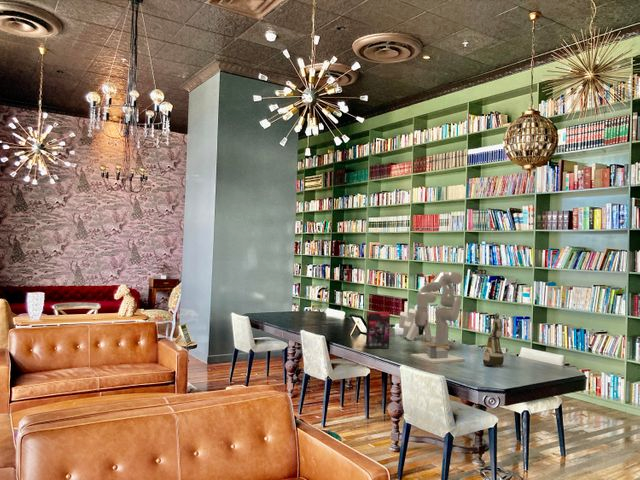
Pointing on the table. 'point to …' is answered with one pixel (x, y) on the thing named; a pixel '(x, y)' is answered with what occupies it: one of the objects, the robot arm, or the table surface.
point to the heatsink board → (440, 360)
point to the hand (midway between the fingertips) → (421, 334)
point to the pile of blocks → (412, 325)
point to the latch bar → (437, 345)
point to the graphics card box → (377, 329)
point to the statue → (494, 345)
